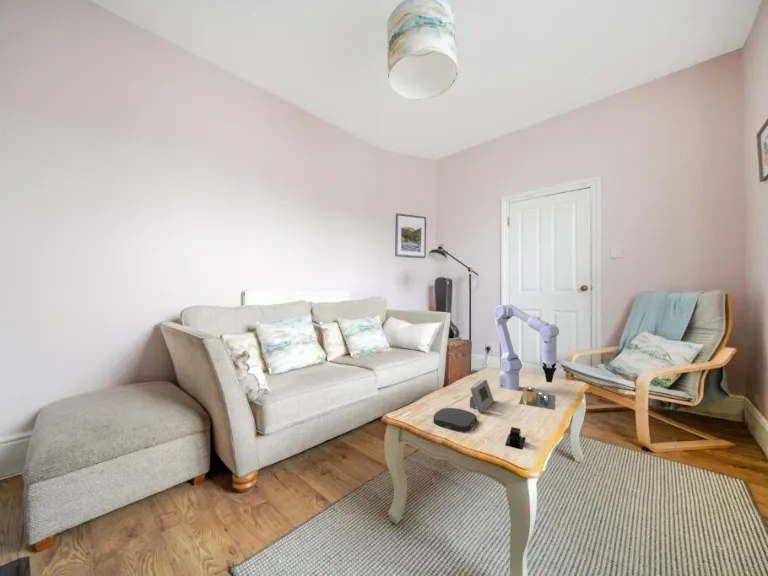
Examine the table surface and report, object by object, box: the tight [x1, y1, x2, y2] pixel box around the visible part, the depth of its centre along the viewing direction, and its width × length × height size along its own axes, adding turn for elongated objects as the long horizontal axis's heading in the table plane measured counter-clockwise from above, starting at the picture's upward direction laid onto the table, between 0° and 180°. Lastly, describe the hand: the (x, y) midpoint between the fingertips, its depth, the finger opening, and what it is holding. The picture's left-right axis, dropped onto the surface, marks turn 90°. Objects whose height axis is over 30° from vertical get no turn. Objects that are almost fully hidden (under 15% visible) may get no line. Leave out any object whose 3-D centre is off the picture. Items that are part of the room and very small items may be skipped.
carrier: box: [518, 386, 556, 411], centre depth 142 cm, size 14×20×4 cm
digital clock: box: [469, 378, 494, 413], centre depth 136 cm, size 16×9×11 cm, turn 132°
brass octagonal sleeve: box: [522, 388, 538, 404], centre depth 140 cm, size 6×6×5 cm
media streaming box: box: [433, 407, 478, 433], centre depth 120 cm, size 15×15×3 cm
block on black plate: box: [504, 426, 527, 451], centre depth 104 cm, size 12×7×5 cm, turn 150°
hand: (549, 379), depth 142 cm, fingers open, 7 cm apart
